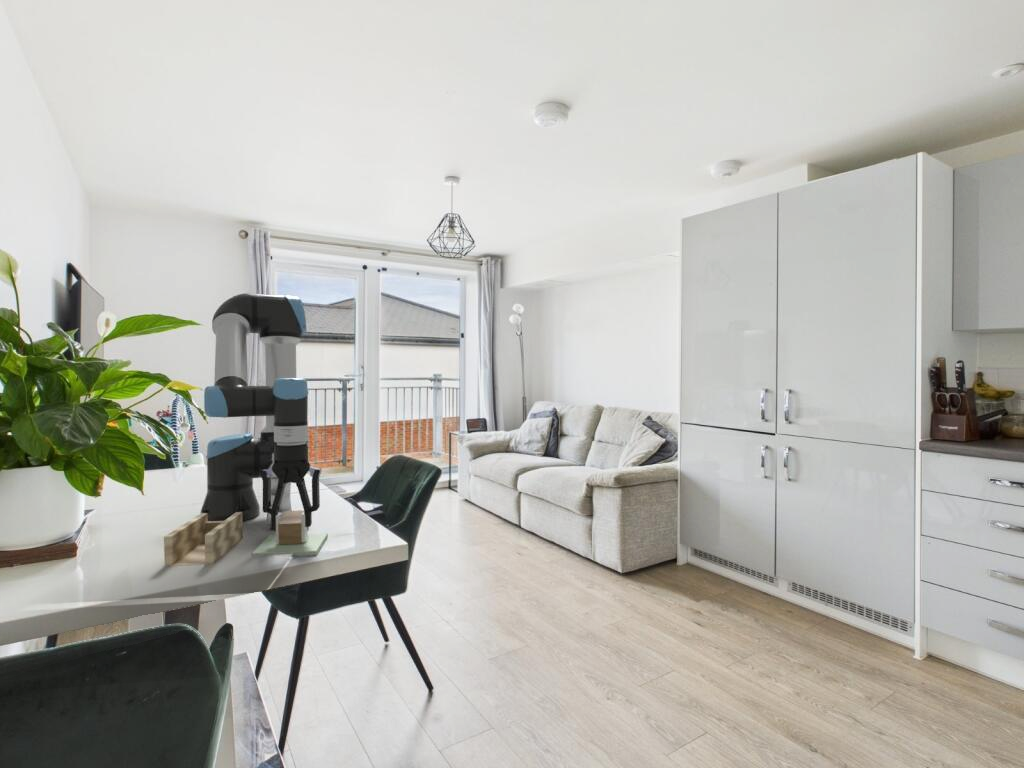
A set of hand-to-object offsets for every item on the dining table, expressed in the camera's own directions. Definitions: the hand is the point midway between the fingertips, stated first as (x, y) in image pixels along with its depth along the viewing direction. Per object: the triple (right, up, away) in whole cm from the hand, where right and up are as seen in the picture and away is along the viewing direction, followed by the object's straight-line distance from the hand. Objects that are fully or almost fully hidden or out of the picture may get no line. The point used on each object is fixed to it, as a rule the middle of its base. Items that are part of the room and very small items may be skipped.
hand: (291, 540), depth 131 cm
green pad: (0, -2, 0) cm, 2 cm away
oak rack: (-17, -2, -5) cm, 18 cm away
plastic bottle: (-9, -1, +16) cm, 19 cm away
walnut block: (0, 0, +2) cm, 3 cm away
